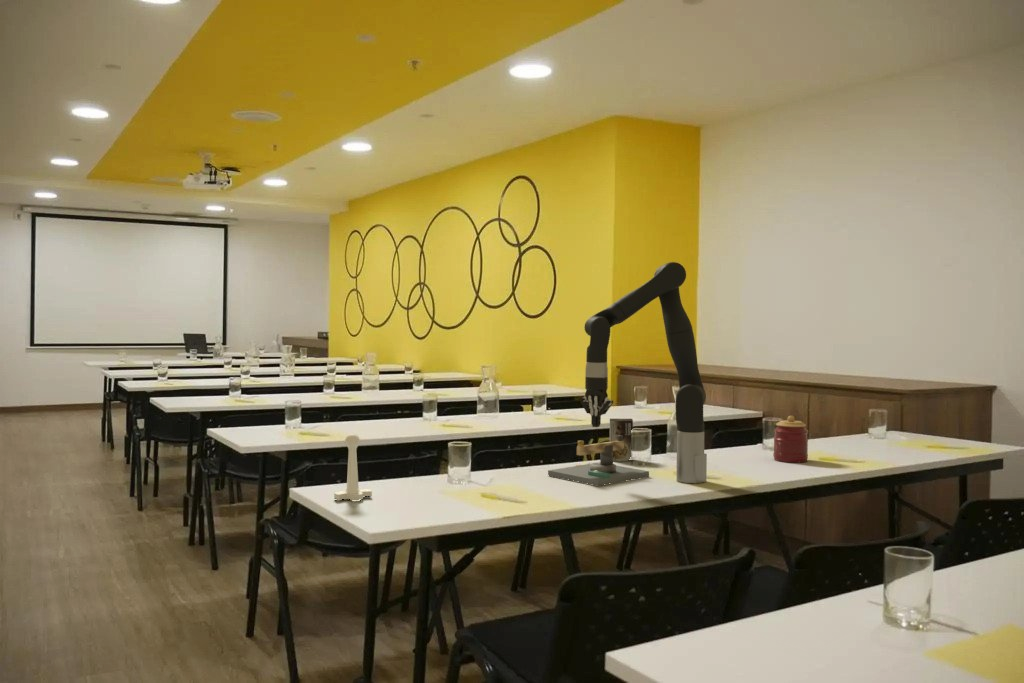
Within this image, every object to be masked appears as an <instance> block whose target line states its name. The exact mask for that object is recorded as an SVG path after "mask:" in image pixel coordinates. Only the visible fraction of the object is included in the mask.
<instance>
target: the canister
mask: <svg viewBox="0 0 1024 683" xmlns="http://www.w3.org/2000/svg"><path fill="white" fill-rule="evenodd" d="M775 426H776V428H774V429H773V432H774V437H773V459H774V460H775V461H777V462H781V463H794V464H795V463H796V464H797V463H798V464H799V463H806V462H808V459H809V457H808V456H809V454H808V453H809V452H808V449H809V448H808V446H809V444H808V443H809V438H808V433H809V430H808V429H807V428H806V426H807V424H806V423H804V422H803V421H801V420H795V416H794V415H789V416H788V417H787V419H786V420H785V419H784V420H783V419H782V420H780V421H779V422H776V423H775ZM774 460H773V461H774Z"/></svg>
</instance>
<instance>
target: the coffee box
mask: <svg viewBox="0 0 1024 683" xmlns="http://www.w3.org/2000/svg"><path fill="white" fill-rule="evenodd" d="M632 429H633V430H634V421H633V418H609V442H611V441H617V436H618V435H622V436H623V441H624V449H622V450H615V451H613V462H629V461H628V460H629V459H630V457H631V430H632Z"/></svg>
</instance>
